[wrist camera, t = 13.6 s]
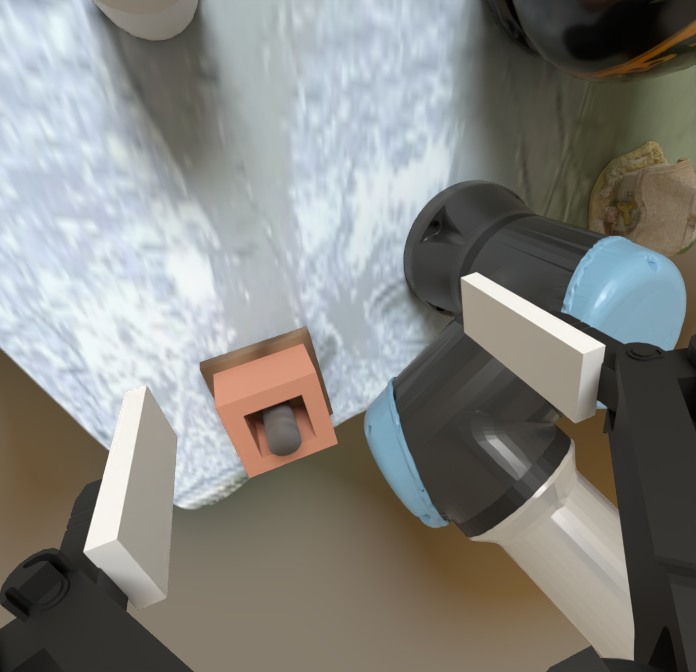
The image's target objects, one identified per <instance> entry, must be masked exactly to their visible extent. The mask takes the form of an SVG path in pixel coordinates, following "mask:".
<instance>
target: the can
mask: <svg viewBox="0 0 696 672" xmlns="http://www.w3.org/2000/svg"><path fill="white" fill-rule="evenodd" d="M92 1H93V2H94V3H95V4H96V5H97V6H98V7H99V8H100V9H101V10H102V11H103V12H104V13H105V14H106V15H107V16H108V17H109V18H110V19H111V20H112V21H113V22H114V23H115V24H116V25H117V26H118V27H120V28H122V29H123V30H125V31H127V32H128V33H130V34H131V35H133V36H136V37H140V38H143V39H147V40H151V41H153V40H166V39H170V38H172V37H173V36H175V35H177V34H179V33H181V32H182V31H183V30H184V29H185V28H186V27H187V26H188V24H189V23H190V22H191V21H192V19H193V16H194V14H195V11H196V8H197V5H198V0H92Z"/></svg>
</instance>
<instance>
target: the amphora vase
mask: <svg viewBox="0 0 696 672" xmlns="http://www.w3.org/2000/svg"><path fill="white" fill-rule="evenodd" d="M488 3H489V5H490V8H491V11H492V13H493V16H494V19H495V21H496V24H497V25H498V27H499V28H500V30H501V31H502V32H503V34H504V35H505V36H506V38H507V39H508V41H509V42H510V43H511V44H513V45H514V46H516V47H517V48H518V49H520V50H521V51H523V52H524V53H525V54H529V55H533V56H537V57H541V58H545V59H546V60H548V61H549V62H550V63H552V64H553V65H555V66H556V67H557V68H559V69H560V70H561V71H563V72H565V73H567V74H569V75H571V76H573V77H575V78H580V79H584V80H588V81H592V82H596V83H627V82H633V81H639V80H645V79H651V78H655V77H659V76H662V75H666V74H670V73H673V72H677V71H680V70H684V69H687V68H689V67H691V66H693V65H696V0H488Z"/></svg>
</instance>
